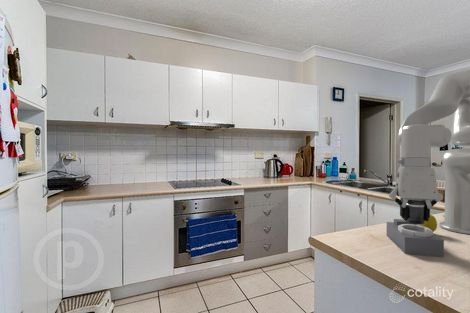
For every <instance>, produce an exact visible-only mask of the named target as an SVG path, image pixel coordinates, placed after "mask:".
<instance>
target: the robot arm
mask: <svg viewBox="0 0 470 313" xmlns="http://www.w3.org/2000/svg"><path fill="white" fill-rule="evenodd" d="M449 116H452V119H451V127H450V128H449V127H447V126H446V125H443V124H432V123H433V122H436V121H437V122H438V121H440V120H442V119H445V118H447V117H449ZM430 123H431V124H430ZM397 142H398V144H399V146H400V147H401V148H400V149H401V150H400V151H401V152H400V154H401V156H400V159H396V161H395V163H396V164H397V165H400V166H399V167H398V169H397V174H396V180H395V187H394V189H393V190H392V191H391V192H390V193H389V194H388V197H389V198H390V199H392V200H393V201H394V202H395V203H396V204H398V205H399V215H400V218H401V219H404V220H408V208H407V207H406V205H407V202H408V199H417V200H424V201H425V221H429V218H430V214H431V209H432V208H433V207H434V206H435V205H437V203H439V202H440V201H442V200H443V199H444V214H443V215H442V217H443V218H444V221H440V222H439V227H440V228H442V229H445V230H447V231H449V232H455V233H460V234H467V235H470V148H451V149H449V150H447V151H445V152H444V153H443V154H442V158H441V163H442V168H443V173H444V196H442V195H441V193H440V192H439V191H438V185H437V184H438V183H437V177H436V172H435V168H434V167H431V151H432V150H431V148H434V149H435V148H441V147H445V146H446V145H448V144H449V143H450V142H451V143H452V144H453V145H455V146H460V147H470V69H467V70H462V71H458V72H457V71H456V72H454V73H450V74H447V75H445V76H443V77H441V78H440V79H439V80H438V82H437V84H436V86H435V88H434V89H433V92H432V94H431V96H430V98H429V100H428V102H426V103H424V104H423V105H422V106H420V107H419V108H417V109H415V110H414V111H413V112H411V113H410V114H409V115H408V116H406V117H405V118H404V120H403V123H401V126H400V128H399V131H398V133H397ZM397 196H398V197H400V198H398V197H397Z"/></svg>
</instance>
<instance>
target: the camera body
mask: <svg viewBox="0 0 470 313" xmlns="http://www.w3.org/2000/svg"><path fill="white" fill-rule="evenodd" d="M386 237H388V239H390V240H391V242H393V243H394V244H395V245H396V246H397V247H398V248H399V250H401V251H402V252H403V254H405V255H407V254H408V255H418V256H428V255H429V256H430V257H439V258H442V257H443V258H444V256H445V254H444V253H445V251H444V250H445V240H444V239H443V238H442V237H440V236H438V235H437V234H435V233H434V232H433V231H432V230H431V229H429V228H427V227H423V226H421V225H419V224H413V223H409V222H406V221H405V220H404V219H403V218H401V219H400V218H393V221H386ZM429 256H428V257H429Z"/></svg>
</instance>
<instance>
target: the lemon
mask: <svg viewBox="0 0 470 313" xmlns="http://www.w3.org/2000/svg"><path fill="white" fill-rule="evenodd" d="M419 225H421V226H423V227H427V228H429V229H431V230H432V231H433V233H434V232H435V231H436V230H437V228H438V221H437V218H436V217H435V216H434V215H432V214H431V213H430V218H429V221H425V220H424V224H419Z"/></svg>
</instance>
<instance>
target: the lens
mask: <svg viewBox="0 0 470 313" xmlns="http://www.w3.org/2000/svg"><path fill="white" fill-rule="evenodd" d="M406 207H407V208H408V220H405V221H406V222H409V223H413V224H424V220H425V201H424V200H417V199H408V202H407V205H406Z"/></svg>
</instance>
